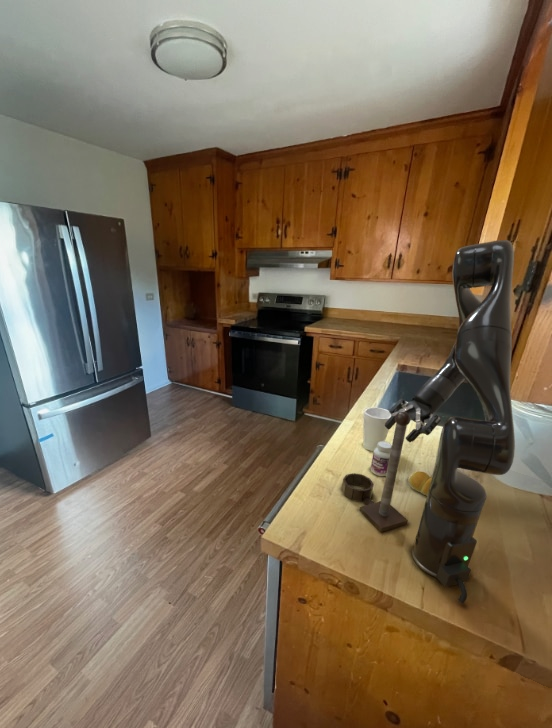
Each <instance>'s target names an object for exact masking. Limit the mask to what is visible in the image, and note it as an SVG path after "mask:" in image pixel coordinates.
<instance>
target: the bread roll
mask: <svg viewBox="0 0 552 728" xmlns="http://www.w3.org/2000/svg"><path fill="white" fill-rule="evenodd" d="M431 479H432V476H430V475H429V474H428V473H427V472H425V471H416V472H414V473H412V474H411V475H409V477H408V478H407V483H408V485H409V486H410V488H411V489H413V490H414V491H416V492H418V493H421V494H422V495H423V496H426V497H427V494H428V490H429V487H430V483H431Z"/></svg>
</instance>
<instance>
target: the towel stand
mask: <svg viewBox="0 0 552 728" xmlns="http://www.w3.org/2000/svg"><path fill="white" fill-rule="evenodd" d="M411 421H412V420H411V417H410V415H409V414H408V413H406V412H399V413H397V414H396V416H395V422H396V423H395V428H394V432H393V438H392V443H391V445H392V447H391V453H390V458H389V463H388V468H387V473H386V476H385V478H384V484H383V488H382V494H381V499H380V501H376V502H374V501H373V499H371V497H372V495H373V490H374V486H375V485H374V482H373V481H372V479H371V478H370V477H368V476H366V475H365V474H362V473H355V472H353V473H348V474H345V476H344V477H343V479H342V484H341V491H342V494H343V495H344V496H345V497H346V498H348V499H349V500H352V501H355V502H363V503H364V504H365V505H362V506H360V507H359V512H360V513H361V514H362V515H363V516H364V517H365V518H366V519H367V520H368V521H369V522H370V523H371V524H372V525H373V526H374V527H375V528H376V529H377V530H378V531H379V532H380V533H382V532H386V531H389V530H392V529H396V528H398V527H402V526H405V525H408V521H409V519H408V518H406V517H405V516H404V515H403V514H402V513H400V511H399V510H397V509H396V508H395V507H393V506H392V504H391V503H392V498H393V494H394V490H395V484H396V479H397V475H398V470H399V466H400V462H401V461H400V460H401V456H402V451H403V446H404V441H405V438H406V432H407V427H408V425H409V424H410V423H411ZM352 485H354V486H360V487H362V488H364V489H360V488H355V487H353V486H352Z"/></svg>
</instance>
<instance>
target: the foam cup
mask: <svg viewBox="0 0 552 728" xmlns="http://www.w3.org/2000/svg"><path fill="white" fill-rule="evenodd" d="M389 410H390V409H389ZM389 410H388V409H386V408H384V407H383V408H382V407H376V406H375V407H374V406H373V407H367V408H364V410H363V415H362V418H363V419H362V420H363V423H362V425H363V427H362V429H363V431H362V433H363V434H362V444H363V445H362V446H363V448H365V449H366V450H368V451H370V452H374V450H375V448H377V444H378V442H381V441H384V442H386V440H387V437H388V434H389V432H390V429H387V428H386V427H385V423H386V422H387V421H388V419H389V418H390V417H391V414H390V412H389Z"/></svg>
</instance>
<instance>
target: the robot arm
mask: <svg viewBox="0 0 552 728" xmlns="http://www.w3.org/2000/svg"><path fill="white" fill-rule="evenodd" d="M452 261H453V262H452V285H453V292H454V298H455V303H456V307H457V313H458V314H457V315H458V329H457V332H456V336H455V342H454V344H453V346H452V348H451V350H450V353H449V354H448V356H447V358H446V360H445V361H444V363H443V364H442V366H441V367H440V368H439V369H438V370H437V371H436V372H435V373H434V374H433V375H432V376H431V377H430V378H429V379H427V381H426V382H425V383H424V384H423V385H421V387H420V388H419V389H418V390H417V392H416V393H415V394H414V395H413V396H412V399H411V400H410V401H406V400H405V398H403V397H402V398H400V399H398V401H397V402H396V403H394V405H393V406H392V407H390V409H389V412H390V414H391V417H390V418H389V419H388V421H387V422H386V423H385V427H386V428H387V429H389V430H391V429H392V427H393V426H394V425H396V422H395V416H396V414H397V413H399V412H406V413H408V414H409V415H410V417H411V421H412V422H414V423H415V428H413V429H412V430H411V431H410V432H409V433H408V434H407V435H406V436H405V440H406V441H407V442H408V443H413V442H414V441H416V439H417V438H418V437H419V436H420V435H422V434H423V435H426V436H429V435H430V434H431V433H432V432H433V431H434V430H435V429H436V427H437V426H438V425H439V424H440V422H441V421H442V419H441V418H440V416H439V414H438V413H436V412H438V410H439V409H440V408H441V407H442V406H444V404H445V403H446V402H447V401H448V400H449V398H451V396H452V395H453V394H454V392H455V391H456V390H457V388H458V387H459V386H460V385H461V384H462V383H463V382H464V381H466V382H467V383H468V385H469V386H470V388H471V390H473V392H474V393H475V394H476V396H477V398H478V401H479V402H480V405H481V408H482V411H483V416H484V420H482V419H474V418H467V417H459V416H451V417H449V418H448V419H446V420H445V421H444V424H443V426H442V427H441V428H442V429H441V431H440V435H439V439H438V447H437V453H436V456H435V457H436V458H435V462H434V465H433V470H432V474H431V477H432V479H431V483H430V487H429V490H428V494H427V496H426V497H425V498H426V499H425V501H424V506H423V510H422V514H421V517H420V521H419V525H418V529H417V533H416V535H415V538H414V541H413V543H414V544H413V547H412V551H411V556H412V559H413V561H414V563H415V564H416V565H417V567H418V568H420V569H421V570H422V571H423V572H425V573H426V574H428V575H430V576H432V577H433V578H435V579H437V581H438V582H440V583H441V584H442V586H444V588H448V587H452V586H456V585H458V588H459V589H460V595H459V596H458V598H457V601H458V602H459V603H461V604H464V603H465V601H467V598H468V591H467V588H466V585H465V583H467V582H468V580H469V577H470V574H471V572H472V569H471V568H470V567H469V566H470V563H471V559H472V557H473V554H474V551H475V549H476V546H477V543H478V541H477V539H476V538H475V537H474V535H475V531H476V528H477V526H478V523H479V520H480V518H481V514H482V512H483V509H484V506H485V503H486V501H487V491H486V489H485V488H484V486H483V485H482V484H481V483H480V482H479V481H478V480H476V479H475V478H473V477H472V476H470V475H468V474H466V473H464V472H463V471H461V470H466V471H472V472H476V473H483V474H487V475H488V474H489V475H494V476H503V475H505V474H507V473H508V472H509V471H510V470H511V467H513V463H514V458H515V451H516V439H515V426H514V417H513V415H514V414H513V407H512V396H511V369H512V367H511V366H512V345H513V343H512V341H513V340H512V339H513V338H512V337H513V336H512V318H511V317H512V312H511V310H512V309H511V301H512V300H511V299H512V287H513V278H514V277H513V275H514V266H515V265H514V263H515V251H514V245H513V243H512V242H511V241H510V240H507V239H498V240H492V241H486V242H481V243H475V244H469V245H465V246H462V247H459V248H458V249H457V250H456V251H455V254H454V257H453V260H452ZM483 287H484V288H485V287H490V289H489V291H488V293H487V294H486V296H485V297H484V299H483V300H482V301H481V300H479V298H477V296H476V295H475V294H474V293H473V291H472V290H471V289H473V288H474V289H475V288H483ZM427 420H428V421H427ZM426 421H427V422H426ZM459 469H461V470H459Z"/></svg>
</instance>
